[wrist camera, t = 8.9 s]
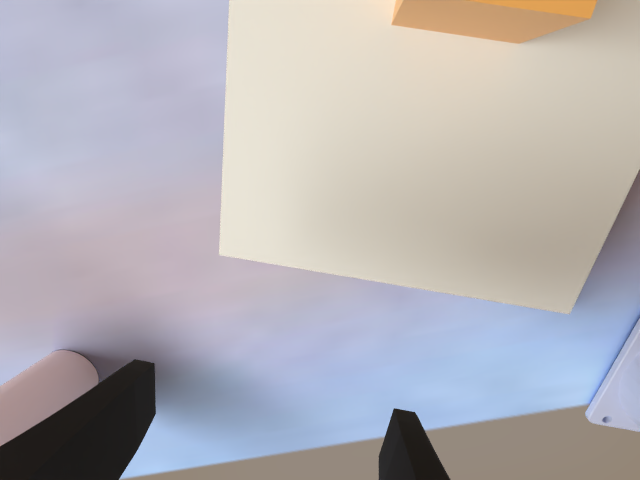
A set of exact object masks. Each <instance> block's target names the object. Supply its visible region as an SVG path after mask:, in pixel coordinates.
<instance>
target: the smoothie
mask: <svg viewBox="0 0 640 480" xmlns="http://www.w3.org/2000/svg"><path fill="white" fill-rule="evenodd" d="M98 381H99V378H98V373H97V371H96V369H95V367H94V366H93V365H92V363H91V362H90V361H88V360H87V359H86V358H85V357H83V356H82V355H80V354H78V353H75V352H72V351H68V350H58V351H54V352H52V353H50V354H49V355H47V356H46V357H44V358H43V359H41V360H40V361H38V362H37V363H35V364H34V365H32V366H30V367H29V368H27V369H26V370H24V371H23V372H21V373H20V374H18V375H17V376H15V377H14V378H12V379H10V380H9V381H7V382H6V383H4V384H3V385H1V386H0V446H1V445H3V444H5V443H7V442H8V441H10V440H12V439H13V438H15V437H17V436H18V435H20V434H22V433H23V432H25V431H26V430H28V429H30V428H31V427H33V426H35V425H36V424H38V423H39V422H41V421H43V420H44V419H46V418H48V417H49V416H51V415H52V414H54V413H55V412H57V411H59V410H60V409H62V408H63V407H65V406H66V405H68V404H69V403H71V402H72V401H74V400H75V399H77V398H78V397H80V396H81V395H83V394H84V393H86V392H87V391H89V390H90V389H92V388H93V387H95V386H96V385H98Z"/></svg>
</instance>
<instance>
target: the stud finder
mask: <svg viewBox="0 0 640 480" xmlns="http://www.w3.org/2000/svg"><path fill="white" fill-rule="evenodd" d="M596 3H597V0H396V2H395V7H394V13H393V18H392V23H391V25H395V26H402V27H408V28H415V29H422V30H428V31H435V32H442V33H449V34H455V35H462V36H469V37H476V38H482V39H489V40H496V41H503V42H509V43H516V44H520V43H522V42H525V41H528V40H531V39H534V38H537V37H540V36H543V35H545V34H548V33H551V32H554V31H557V30H560V29H563V28H565V27H568V26H571V25H574V24H577V23H580V22H583V21H585V20H588V19H591V16H592V14H593V11H594V8H595V5H596Z"/></svg>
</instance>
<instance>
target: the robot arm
mask: <svg viewBox="0 0 640 480" xmlns="http://www.w3.org/2000/svg"><path fill="white" fill-rule="evenodd" d="M155 414H156V407H155V366H154V363H151V362H146V361H140V360H135V359H134V360H133V361H131V362H130V363H128V364H127V365H125V366H124V367H122V368H121V369H119V370H118V371H116V372H115V373H114V374H112V375H111V376H109V377H108V378H106V379H105V380H103V381H102V382H100V383H99V384H98V385H96V386H95V387H93V388H92V389H90V390H89V391H87V392H86V393H84V394H83V395H81V396H80V397H78V398H77V399H75V400H74V401H72V402H71V403H69V404H68V405H66V406H65V407H63V408H62V409H60V410H59V411H57V412H55V413H54V414H52V415H51V416H49V417H48V418H46V419H44V420H43V421H41V422H39V423H38V424H36V425H35V426H33V427H31V428H30V429H28V430H26V431H25V432H23V433H22V434H20V435H18V436H17V437H15V438H13V439H12V440H10V441H8V442H7V443H5V444H3V445H1V446H0V480H119V478H120V477H121V475H122V473H123V472H124V470H125V469H126V467H127V466H128V464H129V462H130V461H131V459H132V458H133V456H134V455H135V453H136V451H137V450H138V448H139V446H140V444H141V442H142V440H143V438H144V436H145V434H146V433H147V430H148V428H149V426H150V424H151V422H152V420H153V418H154V416H155ZM585 415H586V417H587V418H588V420H589V421H590V422H591V423H594V424H599V425H605V426H610V427H617V428H622V429H627V430H634V431H639V432H640V318H639V320H638V322H637V324H636V325H635V327H634V329H633V331H632V332H631V334H630V336H629V338H628V339H627V341H626V343H625V345H624V346H623V348H622V350H621V351H620V353H619V355H618V357H617V358H616V360H615V362H614V364H613V365H612V367H611V369H610V371H609V372H608V374H607V376H606V378H605V379H604V381H603V383H602V385H601V386H600V388H599V390H598V392H597V393H596V395H595V397H594V399H593V400H592V402H591V404H590V406H589V407H588V409H587V411H586V413H585ZM379 480H450V478H449V476H448V475H447V473H446V471H445V469H444V467H443V466H442V464H441V462H440V460H439V458H438V456H437V454H436V452H435V450H434V449H433V447H432V445H431V443H430V441H429V439H428V437H427V435H426V433H425V431H424V429H423V427H422V425H421V423H420V420H419V418H418V416H417V415H416V413H415V412H411V411H405V410H400V409H395V408H394V410H393V413H392V416H391V420H390V423H389V426H388V429H387V432H386V435H385V439H384V442H383V445H382V448H381V451H380V454H379Z"/></svg>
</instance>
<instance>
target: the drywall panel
mask: <svg viewBox="0 0 640 480" xmlns="http://www.w3.org/2000/svg"><path fill="white" fill-rule="evenodd" d="M395 2H396V0H229V20H228V45H227V70H226V95H225V120H224V145H223V171H222V196H221V221H220V246H219V255H222V256H228V257H234V258H240V259H246V260H252V261H258V262H264V263H270V264H276V265H281V266H287V267H293V268H299V269H305V270H311V271H317V272H323V273H329V274H335V275H341V276H346V277H352V278H358V279H364V280H370V281H376V282H382V283H388V284H394V285H400V286H406V287H411V288H417V289H423V290H429V291H435V292H441V293H447V294H453V295H459V296H465V297H471V298H476V299H482V300H488V301H494V302H500V303H506V304H512V305H518V306H524V307H530V308H536V309H541V310H547V311H553V312H559V313H565V314H570V312H571V310H572V308H573V306H574V304H575V302H576V300H577V298H578V296H579V294H580V292H581V290H582V288H583V285H584V283H585V281H586V279H587V277H588V275H589V273H590V271H591V269H592V267H593V265H594V263H595V261H596V259H597V256H598V254H599V252H600V250H601V248H602V246H603V244H604V242H605V240H606V238H607V236H608V234H609V232H610V230H611V227H612V225H613V223H614V221H615V219H616V217H617V215H618V213H619V211H620V209H621V207H622V205H623V203H624V201H625V198H626V196H627V194H628V192H629V190H630V188H631V186H632V184H633V182H634V180H635V178H636V176H637V174H638V172H639V169H640V0H597V3H596V5H595V8H594V11H593V14H592V16H591V19H588V20H585V21H583V22H580V23H577V24H574V25H571V26H568V27H565V28H563V29H560V30H557V31H554V32H551V33H548V34H545V35H543V36H540V37H537V38H534V39H531V40H528V41H525V42H522V43H520V44H516V43H509V42H503V41H496V40H489V39H482V38H476V37H469V36H462V35H455V34H449V33H442V32H435V31H428V30H422V29H415V28H408V27H402V26H395V25H391V23H392V18H393V13H394V7H395Z"/></svg>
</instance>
